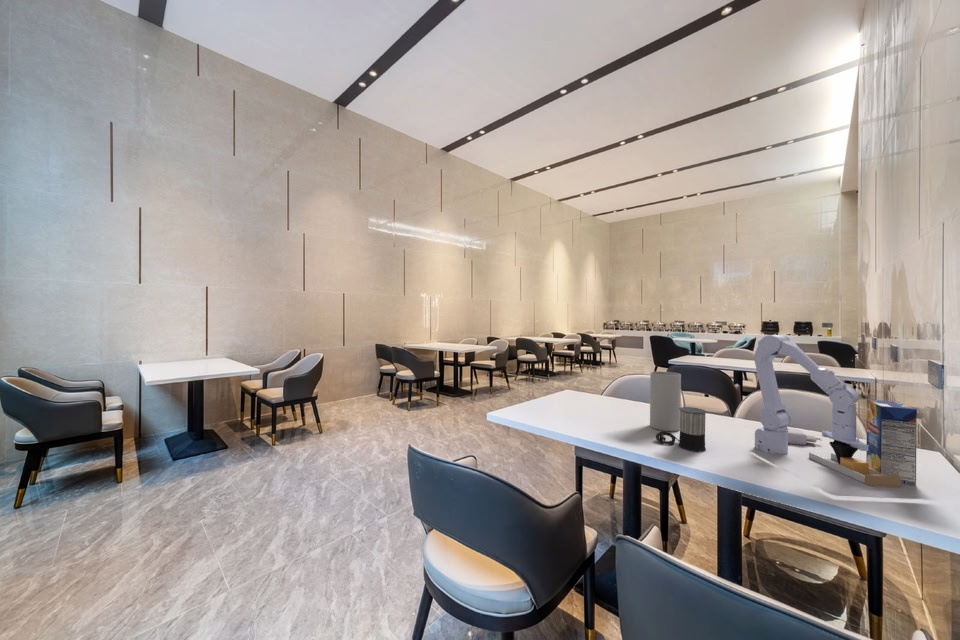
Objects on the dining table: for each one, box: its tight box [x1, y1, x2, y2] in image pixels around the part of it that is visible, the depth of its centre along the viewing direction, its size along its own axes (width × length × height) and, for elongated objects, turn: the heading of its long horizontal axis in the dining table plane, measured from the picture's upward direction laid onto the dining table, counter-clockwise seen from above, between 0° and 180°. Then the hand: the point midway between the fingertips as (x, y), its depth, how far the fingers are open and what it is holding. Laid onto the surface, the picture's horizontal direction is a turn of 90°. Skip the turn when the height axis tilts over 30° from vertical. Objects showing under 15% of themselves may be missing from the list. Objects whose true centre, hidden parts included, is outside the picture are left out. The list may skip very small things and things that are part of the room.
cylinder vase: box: [649, 371, 682, 432], centre depth 169 cm, size 12×12×25 cm
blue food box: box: [865, 398, 918, 487], centre depth 115 cm, size 12×8×24 cm, turn 148°
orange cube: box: [840, 457, 869, 475], centre depth 118 cm, size 4×4×4 cm
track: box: [808, 451, 901, 488], centre depth 119 cm, size 8×22×4 cm, turn 176°
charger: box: [787, 427, 823, 446], centre depth 151 cm, size 5×9×15 cm
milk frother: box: [655, 406, 707, 452], centre depth 145 cm, size 14×16×15 cm
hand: (843, 465), depth 121 cm, fingers closed
